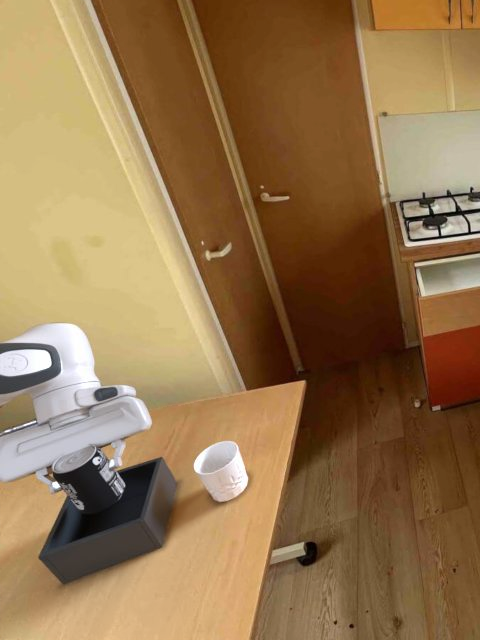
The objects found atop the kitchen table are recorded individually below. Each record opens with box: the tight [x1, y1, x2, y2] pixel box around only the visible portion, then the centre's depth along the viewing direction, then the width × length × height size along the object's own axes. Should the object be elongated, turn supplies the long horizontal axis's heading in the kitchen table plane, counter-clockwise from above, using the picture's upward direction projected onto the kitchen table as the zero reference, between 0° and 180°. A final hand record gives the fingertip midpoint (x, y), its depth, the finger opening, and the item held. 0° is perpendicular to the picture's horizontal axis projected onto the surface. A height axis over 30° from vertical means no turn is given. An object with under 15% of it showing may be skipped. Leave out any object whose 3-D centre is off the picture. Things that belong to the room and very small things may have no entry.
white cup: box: [192, 440, 249, 503], centre depth 90 cm, size 8×8×10 cm
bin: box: [37, 456, 178, 585], centre depth 82 cm, size 15×15×9 cm
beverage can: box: [52, 444, 125, 514], centre depth 77 cm, size 7×7×12 cm
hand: (88, 479), depth 76 cm, fingers closed on beverage can, 6 cm apart
